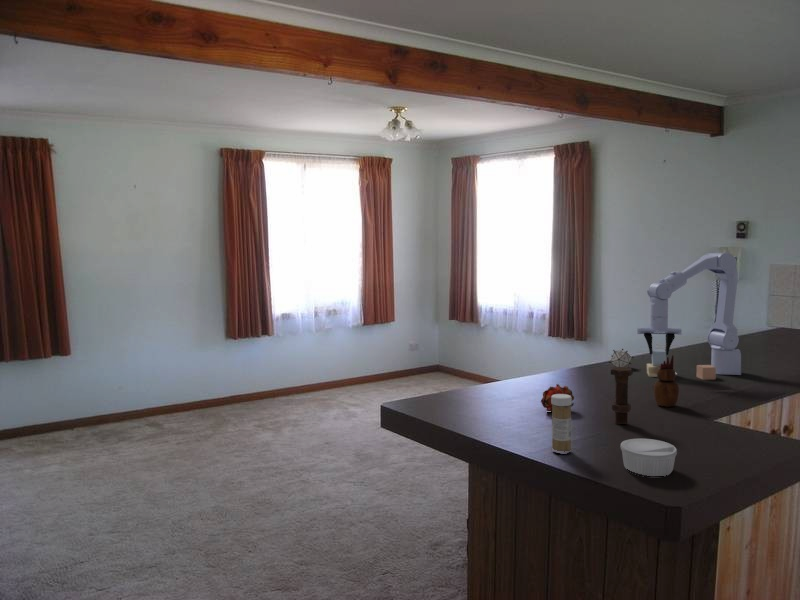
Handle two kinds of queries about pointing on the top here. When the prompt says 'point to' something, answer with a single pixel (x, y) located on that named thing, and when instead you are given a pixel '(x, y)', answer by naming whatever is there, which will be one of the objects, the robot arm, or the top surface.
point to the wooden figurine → (666, 385)
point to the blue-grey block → (658, 357)
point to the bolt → (621, 394)
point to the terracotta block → (706, 372)
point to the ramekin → (648, 456)
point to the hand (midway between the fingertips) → (658, 354)
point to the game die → (621, 359)
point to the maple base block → (652, 370)
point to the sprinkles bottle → (561, 422)
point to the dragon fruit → (552, 391)
